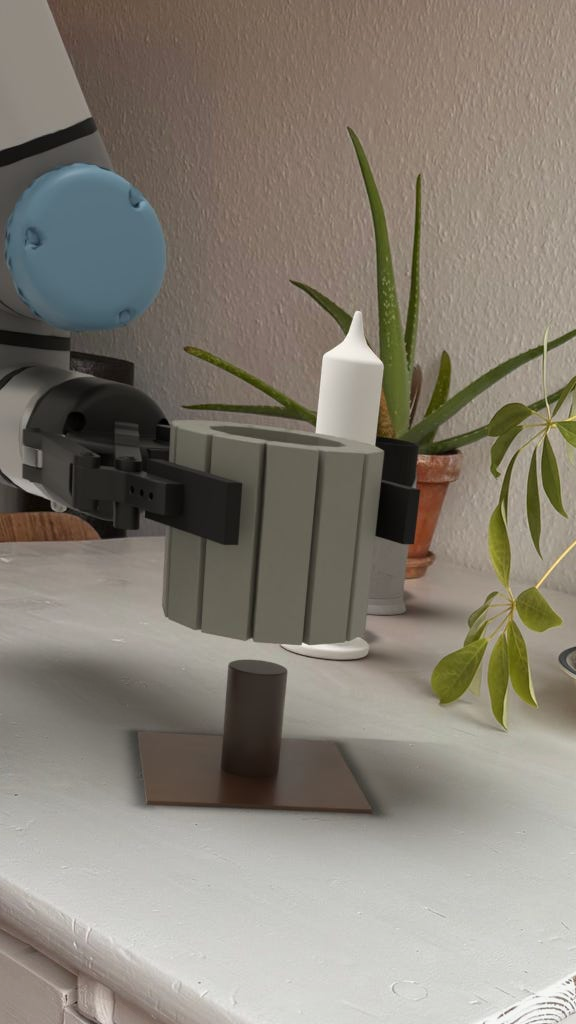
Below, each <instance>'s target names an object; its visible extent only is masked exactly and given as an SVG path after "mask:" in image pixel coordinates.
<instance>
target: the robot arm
mask: <svg viewBox="0 0 576 1024" xmlns="http://www.w3.org/2000/svg"><path fill="white" fill-rule="evenodd" d="M166 269H167V245H166V239H165V235H164V230H163V228H162V225H161V222H160V220H159V218H158V216H157V213H156V212H155V210H154V208H153V206H152V205H151V204H150V203H149V201H148V200H147V199H146V197H145V196H144V194H142V193H141V191H140V190H138V188H136V187H135V186H134V185H133V184H132V183H130V182H129V181H128V180H126V179H125V178H124V177H122V176H120V175H119V174H116V171H115V168H114V166H113V163H112V161H111V158H110V156H109V153H108V151H107V148H106V145H105V143H104V140H103V138H102V136H101V134H100V132H99V129H98V126H97V124H96V122H95V119H94V117H93V116H92V113H91V111H90V108H89V106H88V104H87V100H86V99H85V96H84V93H83V90H82V88H81V85H80V82H79V79H78V78H77V75H76V72H75V69H74V67H73V65H72V62H71V59H70V57H69V55H68V52H67V49H66V46H65V44H64V42H63V39H62V37H61V33H60V32H59V29H58V26H57V24H56V21H55V18H54V15H53V13H52V10H51V9H50V5H49V3H48V1H47V0H0V484H2V485H5V486H8V487H11V488H15V489H18V490H20V491H23V492H26V493H29V494H32V495H33V496H37V497H40V498H41V497H42V498H43V499H46V500H48V501H50V508H51V509H52V510H53V511H54V512H56V513H64V512H66V511H67V508H69V509H71V510H74V511H77V512H79V513H82V514H85V515H86V516H87V515H88V516H91V517H93V518H96V519H99V520H103V521H108V522H113V523H112V524H113V525H112V526H113V527H114V528H115V529H120V530H125V531H128V530H129V531H139V530H140V523H141V515H142V514H144V518H145V519H147V520H150V521H154V522H156V523H159V524H162V525H165V526H166V525H167V526H170V527H173V528H176V529H179V530H182V531H185V532H188V533H191V534H194V535H196V536H199V537H202V538H205V539H208V540H211V541H214V542H217V543H220V544H223V545H238V541H239V526H240V511H241V497H242V483H241V482H237V481H234V480H230V479H227V478H223V477H220V476H216V475H213V474H209V473H206V472H203V471H199V470H196V469H192V468H188V467H185V466H181V465H178V464H175V463H171V462H169V450H170V429H171V423H170V422H169V419H168V418H167V416H166V414H165V413H164V411H163V410H162V408H161V407H160V405H159V404H158V403H157V402H156V401H155V400H154V399H153V398H152V397H151V396H150V395H149V394H147V393H146V392H144V391H143V390H141V389H140V388H137V387H135V386H133V385H130V384H127V383H123V382H120V381H119V382H118V381H116V380H115V381H114V380H110V379H106V378H101V377H97V376H94V375H92V374H88V373H85V372H80V371H75V370H71V369H70V363H71V362H70V360H71V359H70V357H71V343H72V342H71V341H72V340H71V339H72V337H71V332H74V333H83V332H98V331H107V330H109V331H110V330H114V329H118V328H123V327H126V326H127V325H129V324H131V323H133V322H134V321H135V320H137V319H139V317H141V316H142V315H143V314H144V313H145V312H146V311H147V310H148V309H149V308H150V306H151V305H152V304H153V302H154V301H155V299H156V297H157V296H158V295H159V292H160V290H161V288H162V285H163V283H164V279H165V275H166ZM420 496H421V489H420V488H417V487H416V488H412V487H408V486H404V485H401V484H397V483H393V482H389V481H385V480H381V487H380V496H379V506H378V515H377V524H376V534H375V536H377V537H380V538H383V539H387V540H390V541H393V542H397V543H400V544H409V545H415V538H416V529H417V523H418V513H419V505H420V504H419V503H420Z"/></svg>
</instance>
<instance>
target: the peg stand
mask: <svg viewBox="0 0 576 1024" xmlns="http://www.w3.org/2000/svg"><path fill="white" fill-rule="evenodd" d="M288 673H289V672H288V668H287V667H285V666H283V665H282V664H279V663H275V662H272V661H267V660H260V659H236V660H233V661H230V662H228V665H227V678H226V688H225V689H226V691H225V704H224V715H223V716H224V717H223V728H222V729H223V732H222V735H210V734H194V733H193V734H192V733H173V732H158V731H157V732H156V731H139V730H138V731H137V740H138V741H137V742H138V748H139V757H140V764H141V772H142V779H143V780H142V781H143V787H144V788H143V789H144V795H145V804H146V805H147V806H169V807H170V806H172V807H195V808H196V807H197V808H199V807H200V808H219V809H220V808H221V809H222V808H224V809H225V808H226V809H245V810H246V809H249V810H271V811H272V810H273V811H296V812H297V811H301V812H321V813H348V814H349V813H350V814H373V809H372V807H371V805H370V804H369V802H368V800H367V798H366V796H365V794H364V792H363V790H362V789H361V788H360V786H359V784H358V783H357V781H356V779H355V777H354V775H353V774H352V771H351V770H350V768H349V766H348V764H347V763H346V761H345V758H344V757H343V756H342V753H341V752H340V750H339V749H338V746H337V745H336V742H334V741H316V740H301V739H300V740H299V739H284V738H283V739H282V737H283V724H284V714H285V703H286V695H287V693H286V692H287V681H288Z"/></svg>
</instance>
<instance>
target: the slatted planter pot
mask: <svg viewBox="0 0 576 1024" xmlns="http://www.w3.org/2000/svg"><path fill="white" fill-rule="evenodd" d="M170 426H171V429H170V450H169V462H171V463H175V464H178V465H181V466H185V467H188V468H192V469H196V470H199V471H203V472H206V473H209V474H213V475H216V476H220V477H223V478H227V479H230V480H234V481H237V482H241V483H242V497H241V511H240V526H239V541H238V545H223V544H220V543H217V542H214V541H211V540H208V539H205V538H202V537H199V536H196V535H194V534H191V533H188V532H185V531H182V530H179V529H176V528H173V527H170V526H167V525H165V533H164V535H165V536H164V554H163V557H164V558H163V576H162V577H163V579H162V580H163V581H162V598H161V607H162V612H163V615H164V617H165V618H167V619H168V620H169V621H172V622H174V623H177V624H179V625H181V626H184V627H185V628H189V629H191V630H193V631H200V632H201V633H202V634H207V635H213V636H218V637H223V638H229V639H233V640H239V641H242V642H247V641H249V640H252V641H253V642H254V643H261V644H275V645H280V644H288V645H302V643H305V644H307V645H321V644H333V643H344V642H345V641H351V640H353V639H355V638H357V637H359V638H360V636H362V635H364V634H365V632H366V627H367V617H368V614H367V609H368V599H369V590H370V581H371V571H372V562H373V553H374V543H375V534H376V524H377V515H378V506H379V496H380V487H381V477H382V468H383V459H384V450H382V449H380V448H378V447H376V446H374V445H370V444H367V443H363V442H358V441H354V440H350V439H345V438H339V437H335V436H330V435H324V434H318V433H316V432H312V431H311V432H310V431H306V430H305V431H304V430H298V429H288V428H284V427H277V426H268V425H262V424H261V425H259V424H252V423H246V422H245V423H239V422H234V421H220V420H207V419H199V420H198V419H175V420H172V421H171V422H170Z"/></svg>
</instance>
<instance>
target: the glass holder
mask: <svg viewBox="0 0 576 1024" xmlns="http://www.w3.org/2000/svg"><path fill="white" fill-rule="evenodd" d="M375 446H376V447H378V448H380V449H382V450H384V459H383V468H382V477H381V480H385V481H389V482H393V483H397V484H401V485H404V486H408V487H412V488H416V489H417V483H418V472H417V467H418V459H419V448H420V444H418V443H414V442H412V441H408V440H403V439H399V438H392V437H388V436H387V437H386V436H380V435H376V442H375ZM409 549H410V544H400V543H397V542H393V541H390V540H387V539H383V538H380V537H377V536H375V543H374V553H373V562H372V571H371V581H370V590H369V599H368V609H367V615H374V616H393V615H394V616H395V615H401V614H404V613H406V611H407V608H406V604H405V602H404V590H405V589H404V588H405V581H406V571H407V564H408V557H409Z"/></svg>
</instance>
